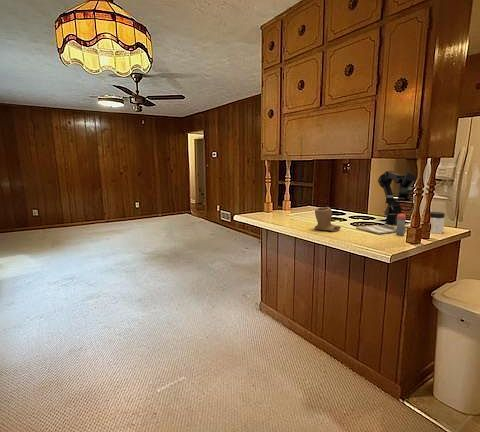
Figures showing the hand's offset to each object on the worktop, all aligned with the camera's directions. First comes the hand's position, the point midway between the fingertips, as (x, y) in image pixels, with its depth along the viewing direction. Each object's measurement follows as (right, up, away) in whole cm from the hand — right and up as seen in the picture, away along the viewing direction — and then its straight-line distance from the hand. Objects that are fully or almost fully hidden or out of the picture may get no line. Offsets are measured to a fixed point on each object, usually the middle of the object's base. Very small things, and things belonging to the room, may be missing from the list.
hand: (401, 210), depth 180 cm
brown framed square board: (-10, -12, +9) cm, 18 cm away
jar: (+22, -13, +2) cm, 25 cm away
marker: (-4, -15, -5) cm, 16 cm away
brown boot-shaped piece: (-43, -13, +10) cm, 46 cm away
